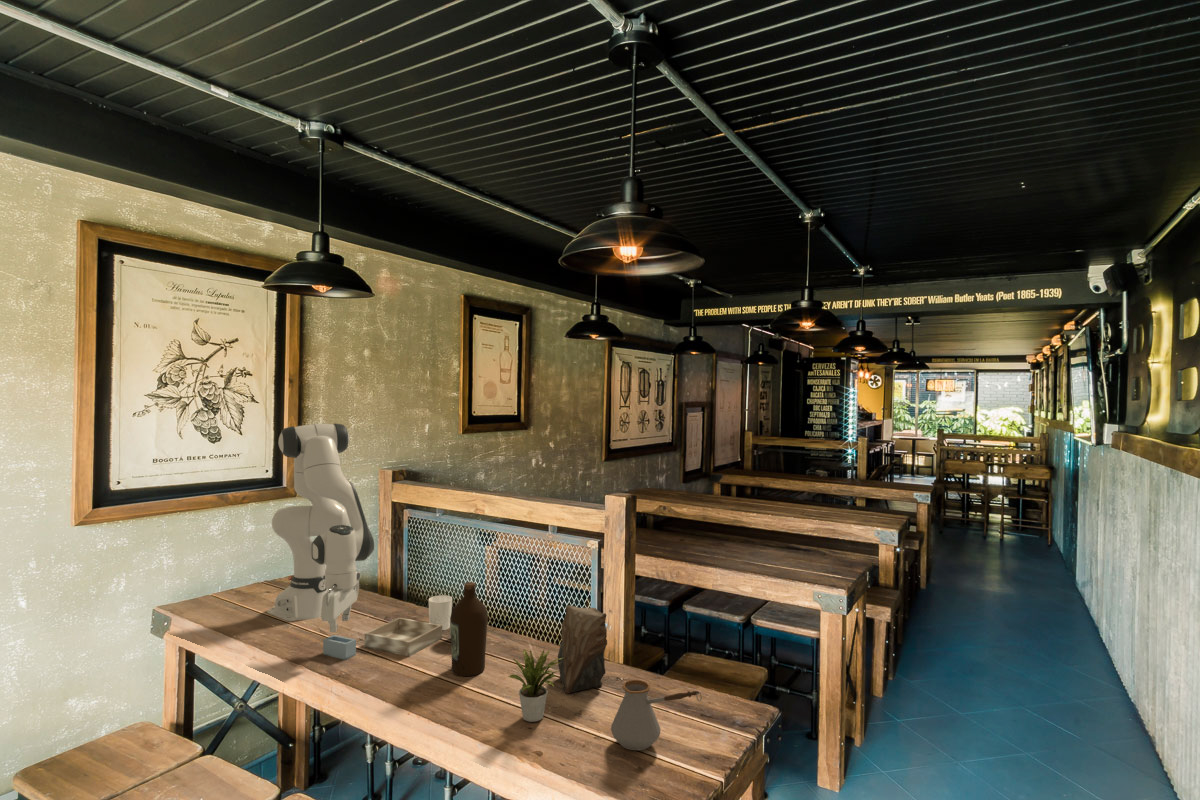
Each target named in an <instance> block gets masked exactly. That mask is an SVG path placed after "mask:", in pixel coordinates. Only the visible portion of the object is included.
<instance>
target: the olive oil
mask: <svg viewBox="0 0 1200 800" xmlns="http://www.w3.org/2000/svg"><path fill="white" fill-rule="evenodd" d="M463 586H464V587H463V597H462V598H461V599H460V600H459V601H458V602H457V603H456V604H455V606H453V607H452V611H451V618H450V623H451V636H450V641H451V642H450V643H451V644H450V645H451V650H450V651H451V672H452V674H454V675H456V676H459V677H473V676H476V675H479V674H481V673H483V672H484V670H485V669H486V652H487V651H486V650H487V649H486V648H487V636H488V635H487V634H488V617H489V615H488V614H489V613H488V610H487V608H486V606H485V604H484V603H483V602H482V601H481V600H480V599H479V598H478V597H477V596H476V583H475V582H472V581H468V582H465V583H464V584H463Z"/></svg>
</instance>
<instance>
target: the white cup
mask: <svg viewBox="0 0 1200 800" xmlns="http://www.w3.org/2000/svg"><path fill="white" fill-rule="evenodd" d="M452 605H453V597H452V596H449V595H445V594H444V595H435V596H431V597H429V598H428V619H429V623H432V624H438V625H442V631H446V630H448V629H449V630H450V616H451V613H452V610H453V606H452Z"/></svg>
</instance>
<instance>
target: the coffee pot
mask: <svg viewBox="0 0 1200 800" xmlns="http://www.w3.org/2000/svg"><path fill="white" fill-rule="evenodd" d="M622 689H623V690H624V696H623V698H622V701H621V703H620V705H619V707H618V709H617V712H616V713H615V716H614V718H613V720H612V722H611V726H610V730H611V734H612V736H613V738H614V740H616V742H617V743H619V744H620V746H621V747H623V748H624V749H626V750H631V751H643V750H646V749H649V748H650V747H651V746H652V745H653V744H654V743H656V742H657V740H658V739H659V737H660V735H661V726H660V724H659V721H658V718H657V716H656V714H655V712H654V709H653V706H652V704H656V703H660V702H665V701H666V702H667V701H674V700H675V701H676V700H682V699H684V698H687V697H688V698H691V697H693V696H695V697H696V700H697V701H698V702H701V701H702V694H701V692H700V691H699V690H693V691H690V690H688V691H687V692H677V693H674V694H670V695H665V696H663V697H662V696H661V697H655V698H649V695H648V693H649V691H650V690H651V685H650V683H648V682H647V681H645V680H642V679H629V680H626V681H625V682H623V684H622ZM698 695H700V700H699V698H698Z"/></svg>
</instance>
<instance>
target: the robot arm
mask: <svg viewBox="0 0 1200 800" xmlns="http://www.w3.org/2000/svg"><path fill="white" fill-rule="evenodd" d="M349 443H350V434H349V431H348V428H347V427H346V426H345V425H344V424H342V423H335V422H334V423H333V424H332V423H313V424H304V425H298V426H294V425H293V426H288V427H285V428H283V429H281V432H280V434H279V437H278V447H279V450H280V451H281V454H282V456H285V457H287V458H292V459H293V460H294V461H293V483H294V485H293V488H294V492H295V493H296V494H297V495H298V496H300V497H301V498H303V499H306V500H308V501H309V502H310V503H311V504H312V505H291V506H286V507H281V508H278V509H277V510H276V511H275V513H274V514H273V517H272V520H271V527H272V530H273V532H274V533H275V534H276V535H277V536H278V537H280V538H281V539H282V540H283V541H285V542H286V543H287V545H288V546H289V548H290V551H291V552H292V557H293V558H292V559H293V575H292V576H288V577H287V578H288V579H287V581H290V583H289V585H288V587H286V588H285V589H284V590H283V591H281V592H280V593H278V594H277V595H276V597H275V601H274V606H273V607H272V608H269V609H268V610H267V614H269V615H271V616H274V617H277V618H279V619H282V620H284V621H287V622H295V621H306V620H307V619H308V620H314V619H320V618H321V620H322V621H323V622H327V623H328V625H329V632H330V633H337V631H338V627H339V625H338V623H337V621H338V618H339V617H340V616H341V614H342V616H341V620H342V622H348V621H349V620H350V613H351V610H352V605H353V604H354V603H355V602H357V600H358V598H359V597H358V596H359V589H360V579H361V571H357V565H356V562H359V561H360V562H362V561H363V562H364V561H366V560H367V559H368V558H369V557H370V556H371V554H372V553H374V550H375V541H374V537H373V534H372V532H371V530H370V528H369V525H368V522H367V519H366V516H365V514H364V510H363V507H362V506H363V505H362V504H361V500H360V497H359V494H358V492H357V489H356V487H355V485H354V484H353V483H352V482H351V481H349V480H348V479H347V478H346V477H345V475H344V472H343V471H342V467H341V461H340V460H341V458H340V454H341V453H343V452H345V451H346V450H347V449H348V447H349ZM311 537H315V538H314V539H313V541H312V539H311ZM319 617H320V618H319Z"/></svg>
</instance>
